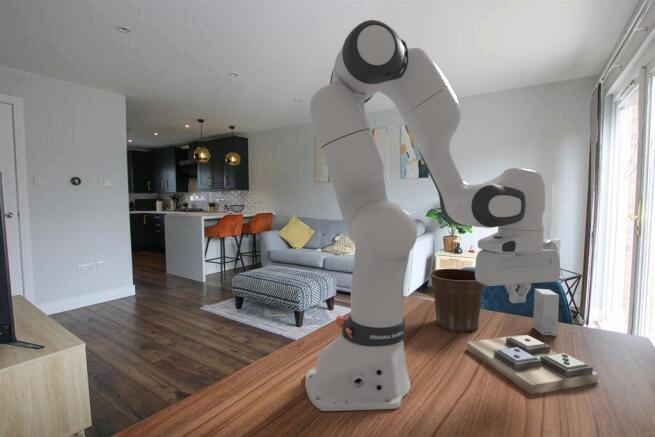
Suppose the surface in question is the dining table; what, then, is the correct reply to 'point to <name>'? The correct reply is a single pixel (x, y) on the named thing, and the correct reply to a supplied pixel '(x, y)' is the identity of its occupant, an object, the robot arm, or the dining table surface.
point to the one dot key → (527, 341)
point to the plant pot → (457, 299)
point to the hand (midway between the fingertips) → (517, 302)
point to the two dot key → (517, 355)
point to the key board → (531, 366)
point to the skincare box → (546, 312)
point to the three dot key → (566, 361)
